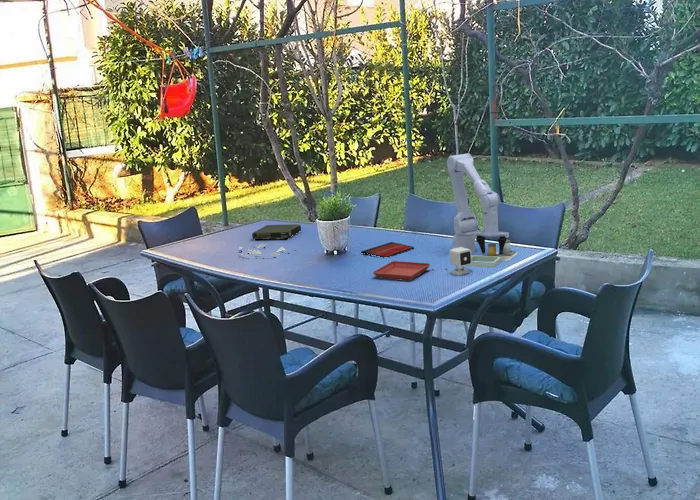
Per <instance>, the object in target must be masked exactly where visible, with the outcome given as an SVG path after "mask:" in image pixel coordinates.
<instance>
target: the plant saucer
mask: <svg viewBox="0 0 700 500" xmlns="http://www.w3.org/2000/svg"><path fill="white" fill-rule="evenodd" d="M430 265H431V263H428V262H427V263H426V262H414V261H401V260H400V261H399V260H391V262H388V263H387V264H385V265H383V266H381V267H380V268H377V269H376V270H373V271H372V274H373V275H374V276H375V277H377V278H378V277H382V278H381V279H383V278H391V279H390V280H395V279H402V280H401V281H407V280H410V281H412V280H413V278H414V279H416V278H417V277H418V276H419V275H422V274H424V273H425V272H426V271H427V270H428V269H429V267H430Z"/></svg>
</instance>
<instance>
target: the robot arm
mask: <svg viewBox="0 0 700 500" xmlns="http://www.w3.org/2000/svg"><path fill="white" fill-rule="evenodd" d="M474 164H475V161H474V158H473V157H472V154H471V153H469V152H468V153H464V154H463V153H462V154H456V155H455V154H454V155H449V156H448V158H447V160H446V166H447V171H448V175H449V176H450V180H451V182H450V183H451V187H452V191H453V194H454V195H453V196H454V201H455V205H456V212H457V214H456V215H455V216H454V217H453V230H454V232H455V234H453V237H452V249H454V248H459V247H463V248H467V249H470V250H471V251H472V253H474V252H476V242H477V243H478V246H479V248H480V251H481V254H482V255H484V254H485V253H486V238H498V239H497V241H498V248H499V249H498V250H499V251H498V252H499V254H500V255H501V254H503V248H504V245H505V242H506V240H508V238H509V237H510V232H506V231H499V219H498V213H499V212H498V207H499V206H500V204H501V198H500V196H499V193H497V192H495V191H493V190H492V189H491V188H490V186H489V185H488V183H487V181H486V180H485V179H482V178H481V176H480V175H479V173H478V171H477V169H476V167H475V165H474ZM465 174H466V175H467V177H468V179H469V180H470V181H471V183H472V184H473V185H472V186H473V187H472V188H473V190H474V191H475V192H476V193H475V194H477V195H478V198H479V199H480V200H479V204H480V207H481V210H482V212H483V231H482V230H481V231H478V230H479V221H478V219H477V218H476V214H475V213H473V212H472V211H470V205H469V202H468V196H467V192H466V191H467V189H466V185H465V180H464V175H465Z"/></svg>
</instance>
